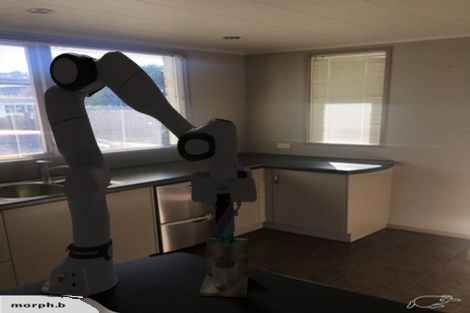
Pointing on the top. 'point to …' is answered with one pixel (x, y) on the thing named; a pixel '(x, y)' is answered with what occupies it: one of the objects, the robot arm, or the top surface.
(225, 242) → the spray can
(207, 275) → the brown l-shaped piece
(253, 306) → the top surface
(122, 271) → the top surface
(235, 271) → the ring
